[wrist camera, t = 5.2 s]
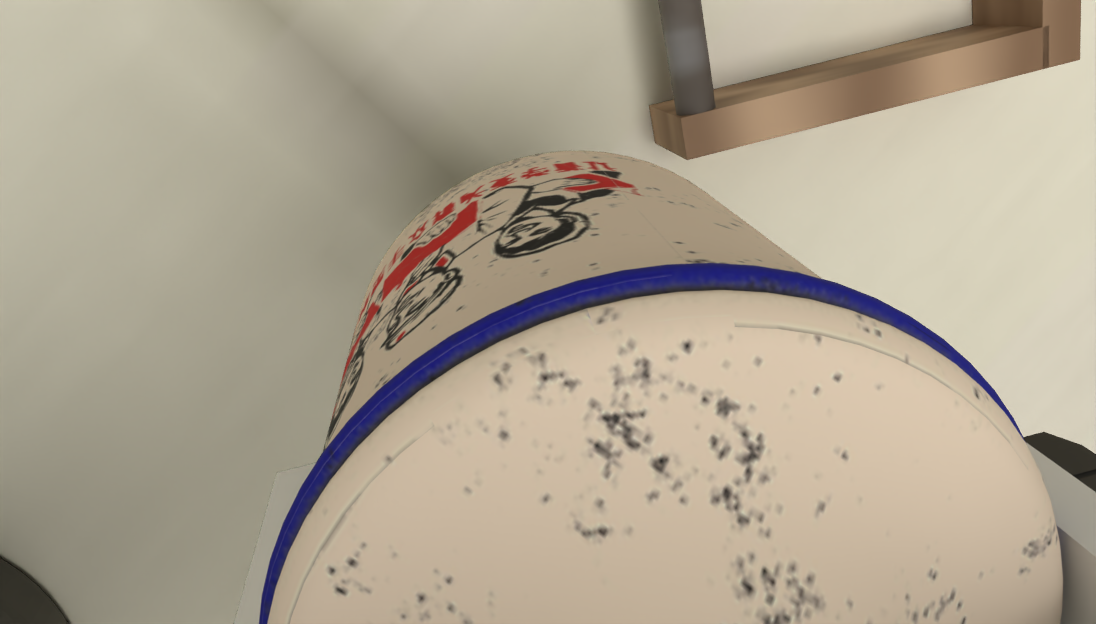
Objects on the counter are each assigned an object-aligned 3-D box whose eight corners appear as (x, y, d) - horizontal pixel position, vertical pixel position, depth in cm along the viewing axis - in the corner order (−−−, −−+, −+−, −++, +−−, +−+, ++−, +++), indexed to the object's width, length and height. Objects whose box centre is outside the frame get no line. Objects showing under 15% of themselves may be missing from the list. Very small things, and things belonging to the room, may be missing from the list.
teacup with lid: (552, 28, 15) (819, 106, 4) (864, 327, 18) (1491, 816, 7) (166, 484, 18) (-283, 1273, 7) (498, 686, 20) (562, 1469, 10)
